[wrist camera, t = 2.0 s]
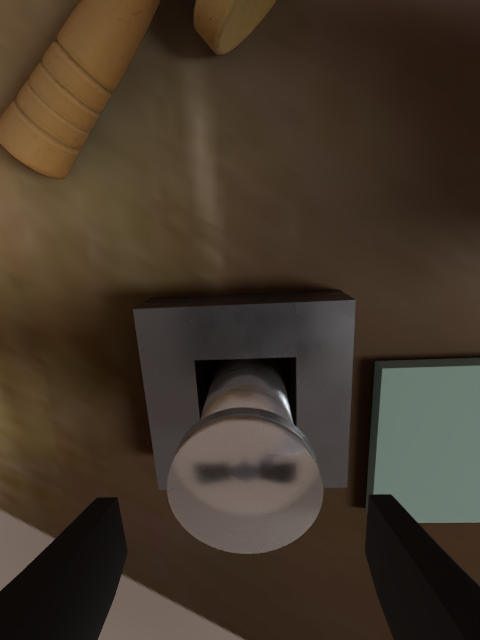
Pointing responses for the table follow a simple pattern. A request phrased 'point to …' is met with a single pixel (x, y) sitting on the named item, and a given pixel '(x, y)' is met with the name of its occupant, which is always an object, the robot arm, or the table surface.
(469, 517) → the rubber mat
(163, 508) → the table surface
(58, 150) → the kendama
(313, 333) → the metal housing
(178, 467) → the polished metal knob
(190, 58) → the table surface
